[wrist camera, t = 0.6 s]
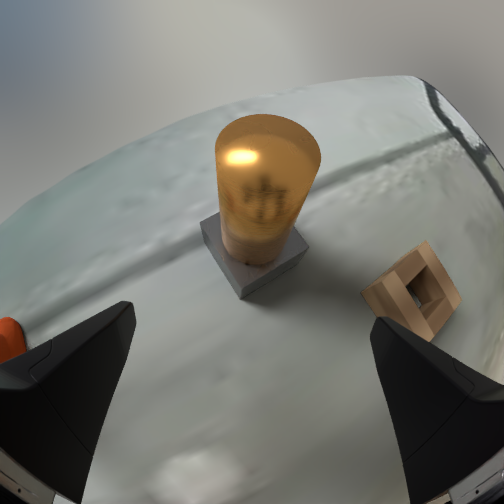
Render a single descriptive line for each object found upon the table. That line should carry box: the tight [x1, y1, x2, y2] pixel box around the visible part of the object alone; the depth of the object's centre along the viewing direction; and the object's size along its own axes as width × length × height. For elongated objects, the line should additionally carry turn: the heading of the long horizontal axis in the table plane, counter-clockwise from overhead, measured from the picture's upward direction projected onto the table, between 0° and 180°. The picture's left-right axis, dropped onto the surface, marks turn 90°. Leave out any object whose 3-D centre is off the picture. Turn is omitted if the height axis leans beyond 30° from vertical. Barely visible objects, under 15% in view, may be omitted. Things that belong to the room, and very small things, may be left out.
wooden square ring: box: [361, 240, 462, 342], centre depth 22 cm, size 7×7×4 cm
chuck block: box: [200, 212, 309, 299], centre depth 22 cm, size 6×6×4 cm
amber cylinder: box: [215, 114, 321, 265], centre depth 18 cm, size 5×5×13 cm
